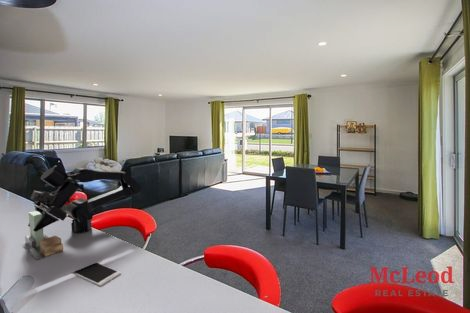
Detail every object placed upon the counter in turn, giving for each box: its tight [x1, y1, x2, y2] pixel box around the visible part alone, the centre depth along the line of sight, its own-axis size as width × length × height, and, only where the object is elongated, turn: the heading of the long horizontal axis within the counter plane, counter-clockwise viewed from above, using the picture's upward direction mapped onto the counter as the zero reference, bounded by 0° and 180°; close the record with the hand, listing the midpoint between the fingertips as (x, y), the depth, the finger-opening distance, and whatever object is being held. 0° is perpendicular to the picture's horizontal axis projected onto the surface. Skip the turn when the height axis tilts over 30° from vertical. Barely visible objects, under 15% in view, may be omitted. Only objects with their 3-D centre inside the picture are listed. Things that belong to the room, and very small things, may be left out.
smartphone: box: [71, 262, 122, 287], centre depth 77 cm, size 7×16×1 cm, turn 64°
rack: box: [20, 232, 64, 261], centre depth 90 cm, size 8×18×4 cm, turn 53°
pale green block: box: [28, 210, 45, 247], centre depth 92 cm, size 2×6×12 cm, turn 53°
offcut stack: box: [40, 235, 64, 256], centre depth 88 cm, size 6×5×4 cm
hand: (31, 228), depth 91 cm, fingers closed on pale green block, 6 cm apart
